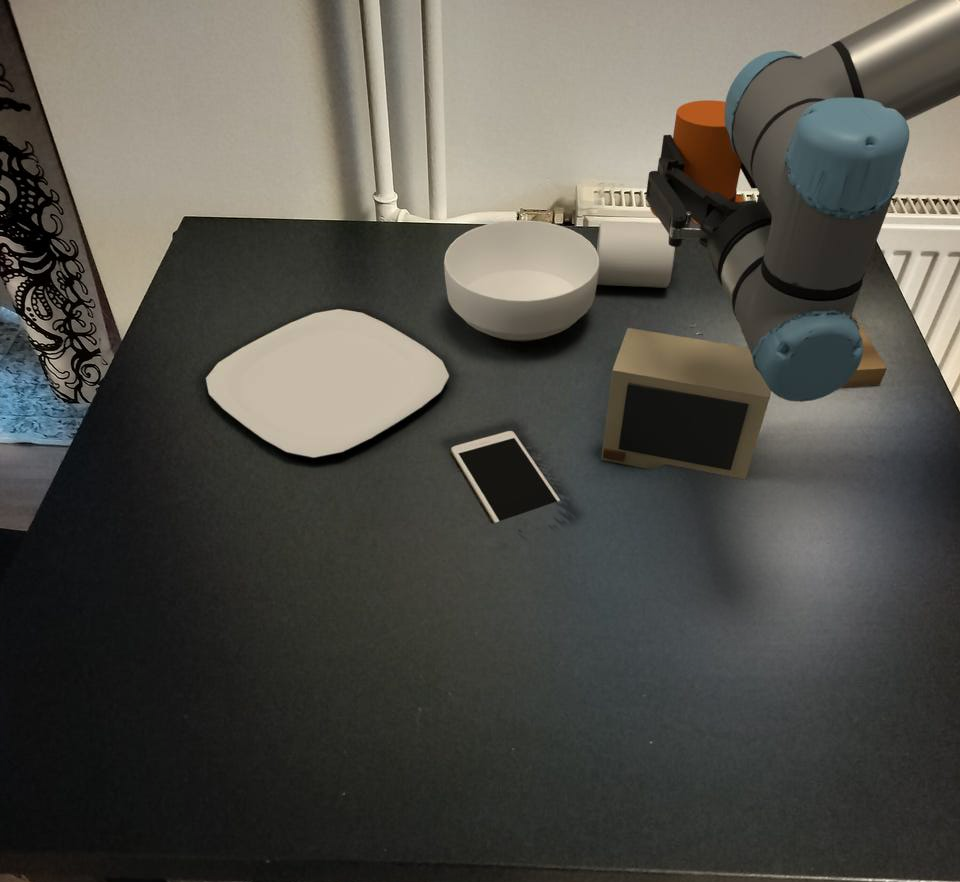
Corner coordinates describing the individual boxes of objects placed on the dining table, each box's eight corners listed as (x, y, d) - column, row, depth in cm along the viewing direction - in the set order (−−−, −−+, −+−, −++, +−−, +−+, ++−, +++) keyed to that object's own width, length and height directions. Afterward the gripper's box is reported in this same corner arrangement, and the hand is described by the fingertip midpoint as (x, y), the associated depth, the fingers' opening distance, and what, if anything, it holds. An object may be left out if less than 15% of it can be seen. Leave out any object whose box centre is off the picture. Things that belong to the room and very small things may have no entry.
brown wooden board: (880, 385, 109) (887, 367, 107) (784, 391, 108) (790, 374, 106) (826, 296, 121) (831, 279, 119) (740, 301, 121) (744, 284, 119)
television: (751, 442, 103) (777, 352, 93) (742, 489, 98) (769, 399, 88) (615, 417, 106) (627, 327, 96) (600, 461, 101) (611, 371, 91)
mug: (667, 299, 121) (677, 242, 115) (594, 296, 122) (599, 239, 116) (664, 254, 129) (673, 198, 122) (595, 251, 129) (601, 195, 123)
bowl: (623, 316, 119) (631, 255, 112) (526, 381, 110) (528, 320, 104) (514, 263, 127) (516, 205, 121) (416, 321, 119) (411, 261, 112)
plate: (185, 388, 110) (181, 376, 109) (342, 306, 121) (340, 294, 120) (312, 485, 99) (310, 473, 98) (473, 385, 110) (473, 373, 108)
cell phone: (505, 543, 93) (505, 539, 92) (450, 451, 102) (449, 446, 101) (573, 523, 95) (573, 518, 94) (512, 433, 104) (512, 429, 103)
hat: (763, 207, 94) (785, 111, 87) (710, 238, 89) (728, 139, 82) (685, 181, 99) (700, 88, 92) (630, 210, 94) (641, 114, 87)
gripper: (642, 309, 79) (602, 189, 94) (863, 297, 80) (791, 179, 94) (653, 227, 74) (609, 111, 88) (892, 215, 74) (810, 102, 88)
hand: (703, 147), depth 91 cm, fingers closed on hat, 7 cm apart
